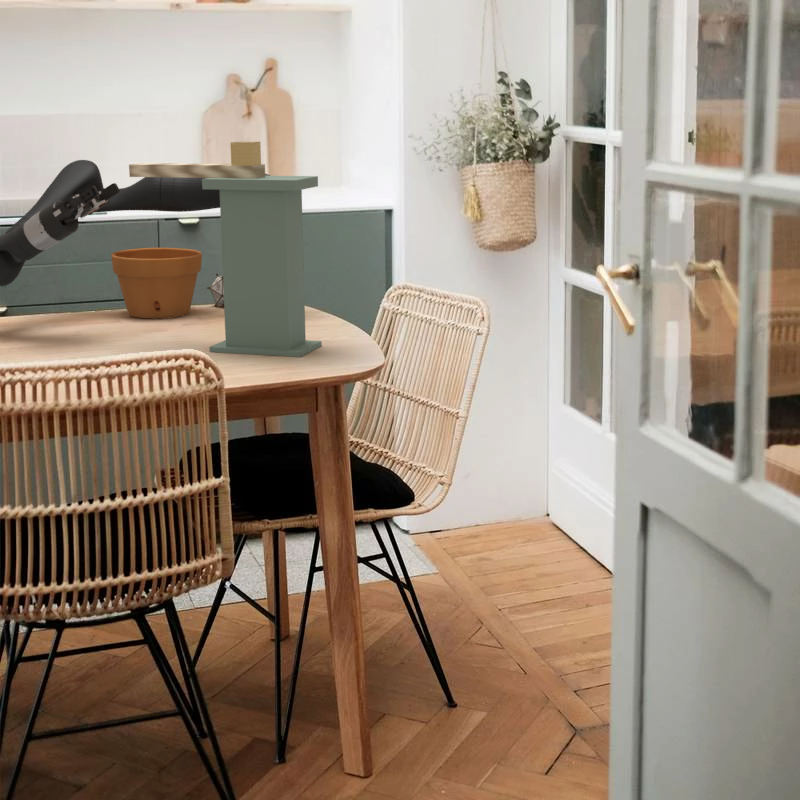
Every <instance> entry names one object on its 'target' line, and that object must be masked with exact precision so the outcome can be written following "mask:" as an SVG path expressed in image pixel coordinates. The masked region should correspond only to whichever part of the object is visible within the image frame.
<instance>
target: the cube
mask: <svg viewBox="0 0 800 800" xmlns="http://www.w3.org/2000/svg"><path fill="white" fill-rule="evenodd" d="M261 151H262V150H261V141H233V142H230V164H231V165H237V166H253V165H260V164H262V156H261V155H262V154H261Z"/></svg>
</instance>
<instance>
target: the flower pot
mask: <svg viewBox="0 0 800 800" xmlns="http://www.w3.org/2000/svg"><path fill="white" fill-rule="evenodd" d="M202 253H203V252H201V251H200V250H197V249H191V248H179V247H178V248H177V247H142V248H133V249H131V248H130V249H124V250H118V251H117V250H116V251H114V252H112V253H111V255H110V256H111V265H112V271H113V273H114V274H115V275H116V276H117V279H118V283H119V286H120V290H121V293H122V297H123V300H124V305H125V307H126V310H127V313H128V315H129V316H130V317H133V318H137V317H139V318H140V319H150V318H157V319H170V318H171V319H172V317H173V318H179V316H180V317H184V316H186V314H187V315H188V314H190V311H191V306H192V302H193V297H194V293H195V288H196V284H197V278H198V273H199V272H201V270H202V262H203V261H202V259H203V258H202V257H203V254H202ZM183 315H184V316H183Z"/></svg>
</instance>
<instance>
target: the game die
mask: <svg viewBox="0 0 800 800" xmlns="http://www.w3.org/2000/svg"><path fill="white" fill-rule="evenodd" d="M215 275H216V278H215V279H214V281H213V282H212V284H211V285H210V286H207V287H206V289H208V290H210V292H211V295H212V296H213V299H214V301H215V304H214V307H215V306H216V307H217V306H218V305H224V287H223V275H219V274H218V273H217V272H216V273H215Z"/></svg>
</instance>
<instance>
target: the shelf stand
mask: <svg viewBox="0 0 800 800" xmlns="http://www.w3.org/2000/svg"><path fill="white" fill-rule="evenodd" d="M318 186H319V176H318V175H315V176H314V175H313V176H312V175H271V176H265V177H261V178H206V179H202V189H217V190H220V208H219V209H220V211H219V212H220V213H219V214H220V233H221V260H222V276H223V287H224V304H223V306H224V307H223V308H224V312H223V313H224V328H225V329H224V330H225V331H224V333H225V336H224V337H225V339H224V340H223V341H221V342H217V343H216V344H214V345H211V346H208V347H209V352H210V353H222V354H223V353H224V354H225V353H226V354H240V355H255V356H256V355H259V356H276V357H277V356H279V357H295V358H301V357H303V356H306V355H307V354H309V353H310V352H313V351H314V350H317V349H318V348H321V347H322V344H323V343H322V340H312V339H311V340H310V339H306V310H305V308H306V307H305V303H306V302H305V301H306V300H305V272H304V271H305V268H304V265H305V264H304V235H303V234H304V233H303V232H304V231H303V229H304V228H303V226H304V225H303V198H302V197H303V196H302V195H303V192H302V191H303V190H306V189H311V188H315V187H318Z"/></svg>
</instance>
